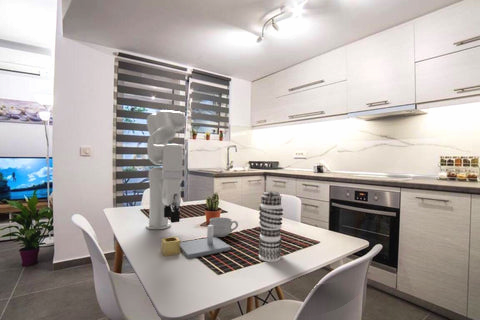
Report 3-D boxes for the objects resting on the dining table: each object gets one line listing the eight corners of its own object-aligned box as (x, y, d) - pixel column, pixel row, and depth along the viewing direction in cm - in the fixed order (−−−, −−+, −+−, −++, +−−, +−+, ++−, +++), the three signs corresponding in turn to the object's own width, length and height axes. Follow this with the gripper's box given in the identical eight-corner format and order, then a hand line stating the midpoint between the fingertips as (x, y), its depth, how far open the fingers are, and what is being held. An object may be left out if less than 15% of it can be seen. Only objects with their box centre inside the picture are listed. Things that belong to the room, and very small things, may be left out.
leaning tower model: (265, 263, 87) (267, 194, 87) (253, 254, 95) (255, 190, 95) (286, 260, 91) (288, 193, 90) (273, 251, 99) (275, 190, 99)
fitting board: (176, 246, 101) (177, 225, 101) (215, 239, 111) (216, 220, 111) (187, 258, 90) (188, 234, 89) (230, 250, 99) (231, 228, 99)
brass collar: (161, 251, 96) (161, 238, 96) (175, 248, 99) (175, 236, 99) (164, 256, 91) (165, 242, 91) (179, 253, 94) (180, 240, 94)
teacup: (205, 236, 115) (205, 220, 115) (215, 230, 125) (216, 215, 125) (231, 241, 110) (232, 223, 110) (240, 234, 120) (241, 218, 120)
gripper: (157, 174, 100) (156, 216, 100) (168, 176, 86) (167, 225, 85) (175, 174, 104) (174, 214, 104) (189, 176, 89) (188, 223, 89)
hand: (171, 219), depth 95 cm, fingers open, 9 cm apart
